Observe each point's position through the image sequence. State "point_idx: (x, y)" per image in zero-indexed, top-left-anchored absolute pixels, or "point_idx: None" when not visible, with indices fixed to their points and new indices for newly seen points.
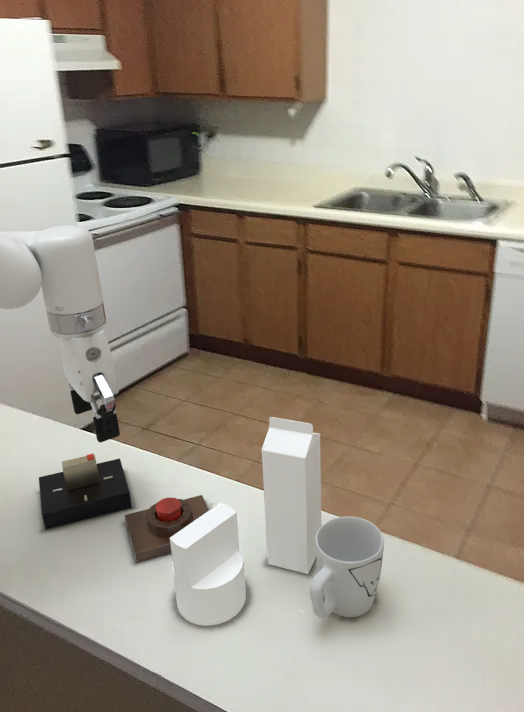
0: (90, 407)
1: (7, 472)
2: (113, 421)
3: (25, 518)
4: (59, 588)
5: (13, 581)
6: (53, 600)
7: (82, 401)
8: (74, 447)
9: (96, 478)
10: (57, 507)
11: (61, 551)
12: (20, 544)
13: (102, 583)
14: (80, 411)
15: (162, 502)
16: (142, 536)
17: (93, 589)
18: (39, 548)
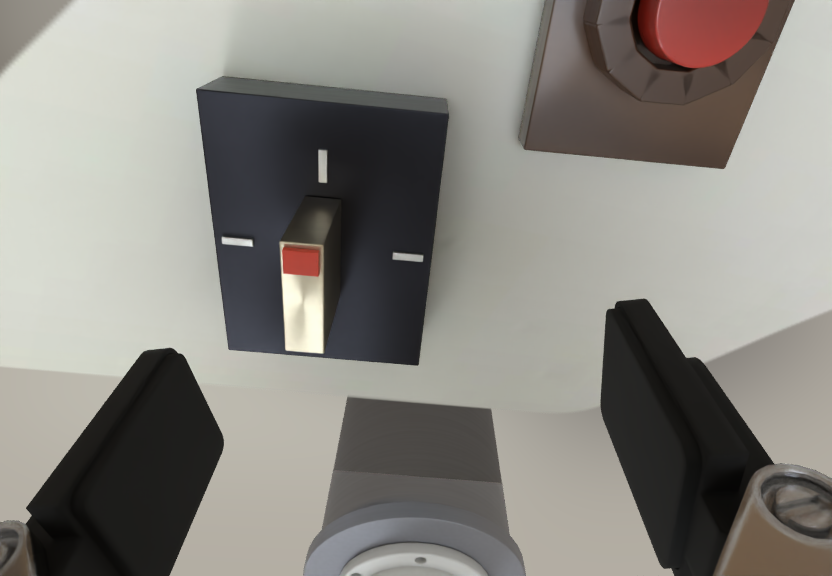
0: (183, 386)
1: (116, 374)
2: (750, 433)
3: (346, 362)
4: None
5: (558, 403)
6: None
7: (174, 473)
8: (3, 196)
9: (337, 216)
10: (410, 330)
11: (524, 313)
12: (442, 381)
13: (709, 254)
14: (212, 435)
15: (679, 28)
16: (670, 125)
17: (711, 276)
18: (482, 351)
